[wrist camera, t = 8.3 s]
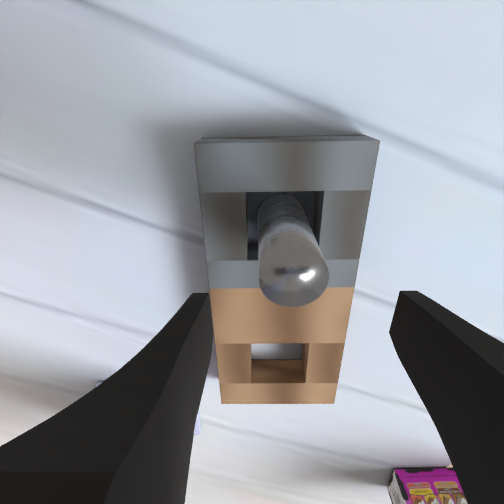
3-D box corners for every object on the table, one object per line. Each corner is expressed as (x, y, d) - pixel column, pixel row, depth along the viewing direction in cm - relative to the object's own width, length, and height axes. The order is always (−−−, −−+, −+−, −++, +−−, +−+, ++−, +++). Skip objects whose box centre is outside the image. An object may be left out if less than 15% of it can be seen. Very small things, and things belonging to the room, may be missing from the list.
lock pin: (258, 237, 21) (259, 308, 14) (257, 194, 20) (258, 249, 13) (302, 236, 21) (326, 306, 14) (304, 192, 20) (332, 247, 13)
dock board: (224, 379, 28) (221, 403, 26) (201, 138, 18) (193, 144, 16) (327, 379, 28) (334, 403, 26) (364, 135, 18) (380, 140, 16)
